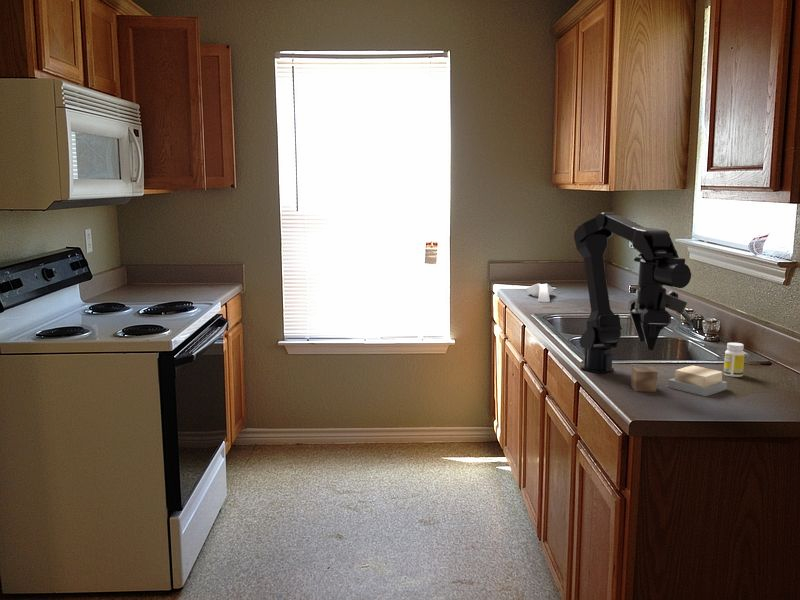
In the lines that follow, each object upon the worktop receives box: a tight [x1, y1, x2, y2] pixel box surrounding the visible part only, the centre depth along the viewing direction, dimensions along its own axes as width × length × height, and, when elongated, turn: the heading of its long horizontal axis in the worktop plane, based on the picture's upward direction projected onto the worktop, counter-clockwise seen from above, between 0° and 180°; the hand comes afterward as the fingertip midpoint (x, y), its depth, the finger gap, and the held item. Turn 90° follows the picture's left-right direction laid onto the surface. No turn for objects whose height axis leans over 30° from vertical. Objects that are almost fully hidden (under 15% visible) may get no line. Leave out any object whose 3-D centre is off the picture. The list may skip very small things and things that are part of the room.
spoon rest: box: [525, 283, 554, 303], centre depth 327 cm, size 24×12×7 cm, turn 176°
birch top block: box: [673, 364, 724, 387], centre depth 188 cm, size 8×8×2 cm
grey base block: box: [667, 377, 728, 397], centre depth 189 cm, size 10×10×2 cm
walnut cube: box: [630, 365, 659, 393], centre depth 188 cm, size 5×5×5 cm
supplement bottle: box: [723, 342, 746, 378], centre depth 202 cm, size 5×5×8 cm
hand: (646, 345), depth 186 cm, fingers open, 9 cm apart
